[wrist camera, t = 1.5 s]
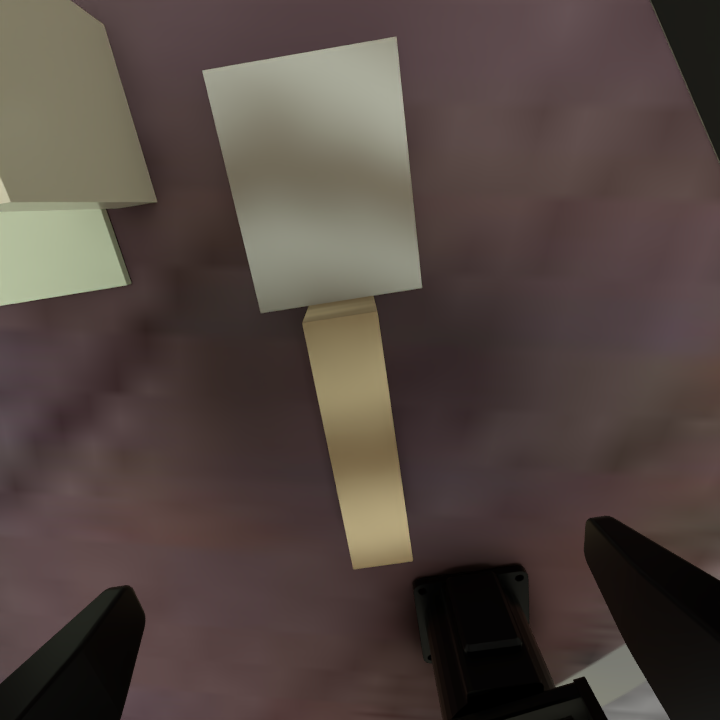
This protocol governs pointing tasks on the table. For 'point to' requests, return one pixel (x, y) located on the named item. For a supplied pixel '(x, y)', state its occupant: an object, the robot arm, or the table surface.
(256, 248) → the turner
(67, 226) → the mat
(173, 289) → the table surface
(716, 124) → the tablet
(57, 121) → the tile
